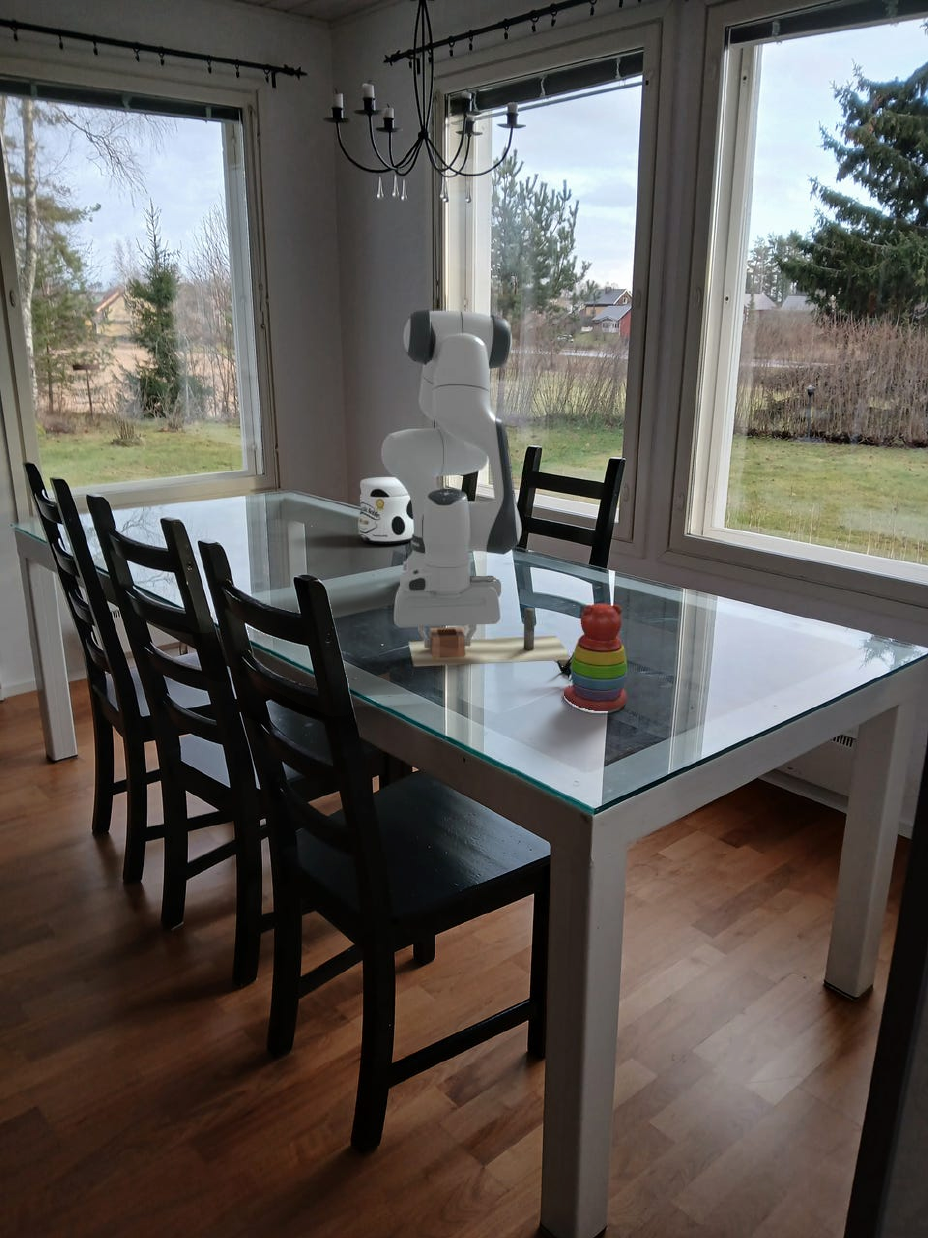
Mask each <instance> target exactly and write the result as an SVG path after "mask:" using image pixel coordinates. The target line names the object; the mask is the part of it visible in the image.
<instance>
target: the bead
mask: <svg viewBox="0 0 928 1238" xmlns="http://www.w3.org/2000/svg"><path fill="white" fill-rule="evenodd" d="M429 635H430V636H429V637H431V638H432V648H431V652H432V655H433V658H444V657H465V634H464V631H463V629H462V627H461V626H454V627H453V626H450V627H448V626H446V627H430V628H429Z"/></svg>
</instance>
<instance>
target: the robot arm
mask: <svg viewBox="0 0 928 1238" xmlns="http://www.w3.org/2000/svg"><path fill="white" fill-rule="evenodd" d="M402 337H403V345H404V348H405V350H406V355H407V356H408V357H409V358H410V359H411V361H414V362H416V363H418V364H422V371H421V379H420V387H419V393H418V394H419V395H418V406H419V408H420V410H421V411H422V413H423V414H424V415H425V416H427V418H429V419H430V420H432V421H434V422H435V423H437V425H438V427H432V428H430V427H429V428H408V429H407V428H406V429H404V430H399V431H396V432H395V431H394V432H392V433H391V432H390V433H388V435H387V436H386V437H385V439H384V440H383V442H382V445H381V449H380V455H381V463H382V464H383V466H384V467H385V469H386V471H387V472H388V473H389V474H390V475H391V476H392V477H396V478H397V479H398V480H399V481H400V482H401V483H402V484H403V485H404V487H405V488H406V490H407V492H408V494H409V496H410V499H411V503H412V511H413V526H414V533H413V534H412V539H411V541H410V542H411V549H412V552H411V553H410V555H409V556H408V557H407V558H406V560H404V561H403V571H404V572H402V573H401V574H400V577H399V584H400V585H399V586H398V589H397V590H396V594H395V600H394V609H393V621H394V624H395V625H396V626H397V627H398V628H402V629H403V628H417V629H418V630H417V631H418V633H419V635H420V636H421V638H422V639H423V641H424V648H432V638H431V637H430V636H427V634H426V632H427V627H445V626H446V627H448V626H450V627H453V626H467V627H468V631H467V633H466V635H465V634H464V636H465V647H466V646H471V639H472V638H473V636H474V635H475V633H476V631H477V625H495V624H498V622H499V621H500V620H501V610H500V607H501V606H500V601H499V597H500V596H501V594H502V582H501V581H500V580H499V578H497V577H494V575H485V576H484V575H483V576H482V575H471V559H470V554H469V552H486V553H489V554H496V555H505V554H507V553H509V552H510V551H512V550H513V549H514V548H515V547H516V546H517V545H519V544H520V539H521V536H522V522H521V517H520V512H519V510H518V506H517V500H516V493H515V484H514V476H513V467H512V461H511V454H510V448H509V447H510V446H509V438H508V434H507V430H506V426H505V424H504V421H503V420H502V419H501V418H499V417H498V416H496V415H495V413H494V412H493V409H492V406H491V401H490V391H491V389H490V388H491V385H490V384H491V383H490V381H491V379H490V378H491V376H490V374H491V373H490V370H491V369H498V368H501V367H503V366H504V365H505V364H506V362H507V361H508V359H509V356H510V354H511V351H512V347H513V334H512V330H511V325H510V324H509V322H508V321H507V320H506V319H505V318H503V317H500V316H496V315H494V314H491V315H486V314H482V313H477V312H472V311H465V310H460V311H456V310H455V311H454V310H430V309H429V308H428V309H419V310H414V311H413V312H412V313H411V314H410V315H409V317H408V320H407V322H406V324H405V325H404V330H403V335H402ZM488 462H489V465H490V473H491V481H492V488H493V499H492V500H490V501H475V500H474V501H471V500H470V501H468V496H467V494H466V493H465V491H463V490H460V489H457V488H440V487H438V484H437V477H443V476H444V477H446V476H462V475H467V474H468V475H469V474H471V473H472V474H473V473H475V472H479V471H482V470H484V468H485V467H486V466H487V464H488Z"/></svg>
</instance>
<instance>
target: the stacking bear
mask: <svg viewBox="0 0 928 1238" xmlns="http://www.w3.org/2000/svg"><path fill="white" fill-rule="evenodd" d="M622 611H623V609H622V607H621V606H620V605H619V604H613V605H611V604H608V603H595V604H592V605H591V604H588V605H586V606H584V608H583V609H582V614H581V616H580V626H581V629H582V630H581V631H582V632H583V634H582V635H581V636H580V637H579V638H578V640H577V643H576V645H575V648H574V651H573V652H574V655H573V658H572V662H571V667H570V668H571V675H570V678H571V677H572V680H571V683H572V685H568V686H567V687H566V688H564V690H563V693H564V696H565V698H566V699H567V700H568V701H569V702H571V703H572V704H574V705H576V706H578V707H579V708H585V709H588V710H594V711H609V710H614V709H618V708H621V707H623V706H624V704H625V703H626V704H627V702H626V701H628V700H627V699H628V697H627V692H626V690H625V689H624V685H625V683H626V680H627V679H626V678H627V675H628V673H627V672H628V662H627V661H628V660H627V658H626V655H627V654H626V650H625V646H624V645H623V643H622V640H621V639H620V637H619V636H618V634H619V632H620V631H621V627H622V617H621V614H622ZM564 696H563V697H564ZM626 704H625V705H626ZM623 708H624V707H623Z"/></svg>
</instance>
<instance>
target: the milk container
mask: <svg viewBox="0 0 928 1238" xmlns="http://www.w3.org/2000/svg"><path fill="white" fill-rule="evenodd" d="M359 494H360V495H359V501H360V512H359V516H358V521H357V528H358V535H359V536H360V538H361V539H362V540H363V541H365V542H368V543H371V544H379V545H393V544H394V545H395V544H400V543H406V542H409V541H410V540H412V534H413V533H414V526H413V511H412V503H411V499H410V496H409V494H408V492H407V490H406V488H405V487H404V485H403V484H402V483H401V482H400V481H399V480H398V479H397V478H396V477H394V476H378V477H375V476H374V477H369V478H364V479H361V480H360V482H359Z"/></svg>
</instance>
